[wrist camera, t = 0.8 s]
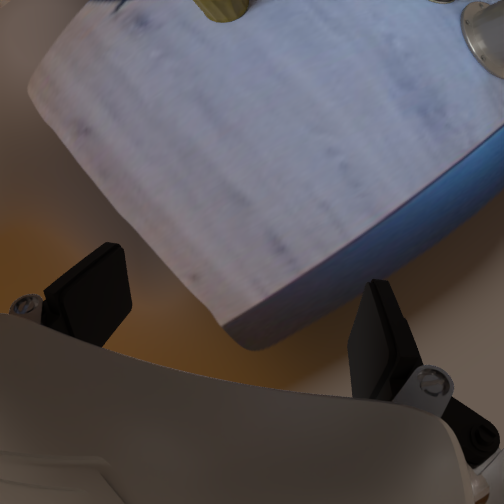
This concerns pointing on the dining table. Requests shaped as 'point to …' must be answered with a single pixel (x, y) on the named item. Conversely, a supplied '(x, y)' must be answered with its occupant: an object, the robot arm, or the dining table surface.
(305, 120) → the dining table surface
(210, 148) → the dining table surface
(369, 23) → the dining table surface
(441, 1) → the coffee can
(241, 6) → the vase
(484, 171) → the dining table surface
